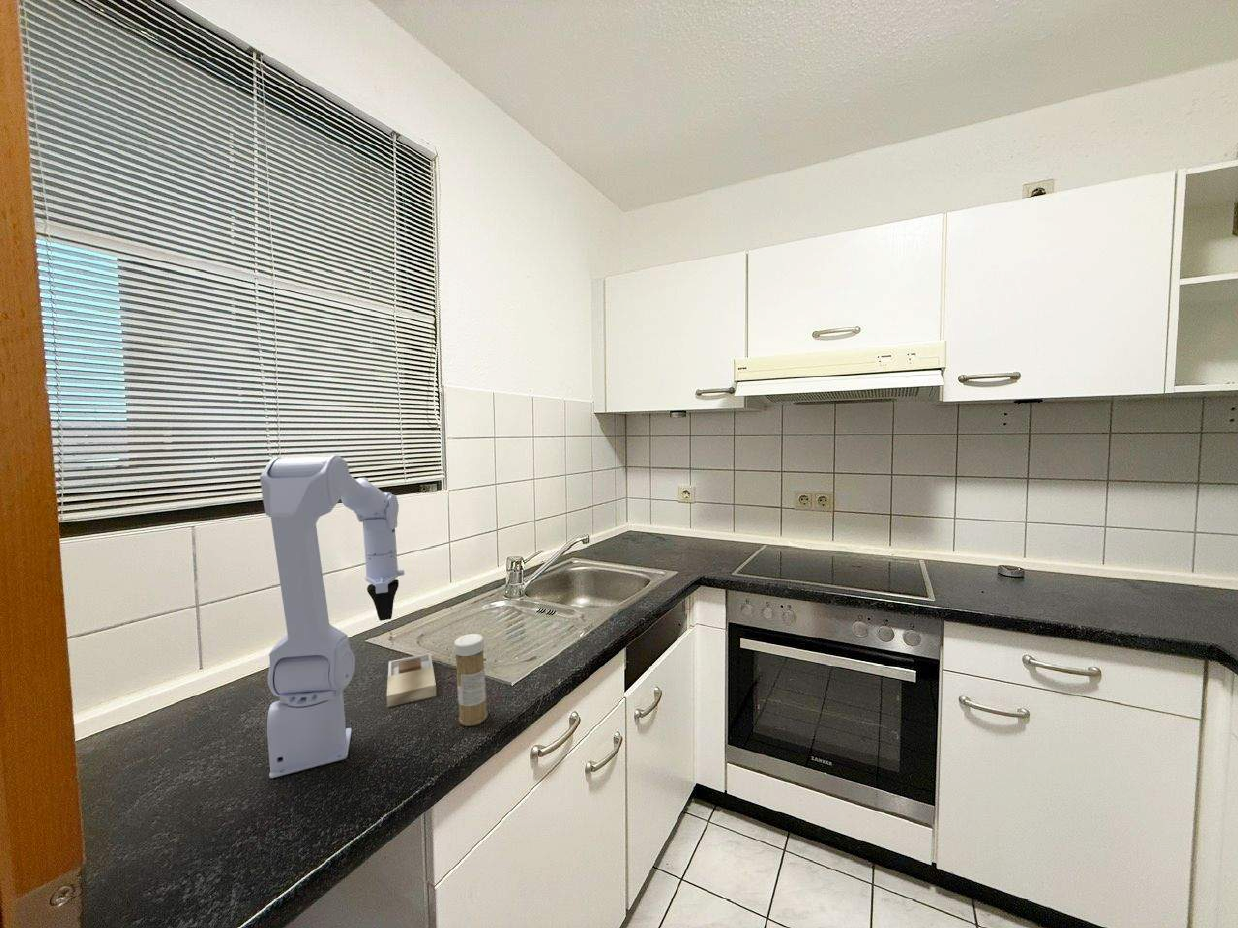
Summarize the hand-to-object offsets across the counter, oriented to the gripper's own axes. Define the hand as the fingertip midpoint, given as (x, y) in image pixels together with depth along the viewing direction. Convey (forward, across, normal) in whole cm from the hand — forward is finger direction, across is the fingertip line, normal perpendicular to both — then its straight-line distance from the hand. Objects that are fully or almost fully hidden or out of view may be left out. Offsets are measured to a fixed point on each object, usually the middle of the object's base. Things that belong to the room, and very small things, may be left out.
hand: (385, 618), depth 99 cm
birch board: (+10, -12, -4) cm, 16 cm away
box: (+10, -4, -4) cm, 12 cm away
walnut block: (+10, -5, -4) cm, 12 cm away
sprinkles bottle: (+11, -27, -13) cm, 32 cm away
